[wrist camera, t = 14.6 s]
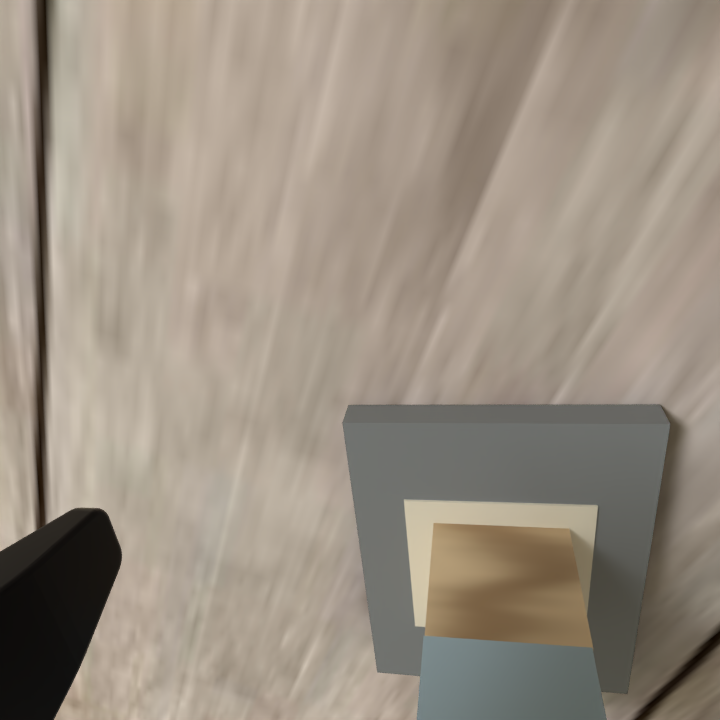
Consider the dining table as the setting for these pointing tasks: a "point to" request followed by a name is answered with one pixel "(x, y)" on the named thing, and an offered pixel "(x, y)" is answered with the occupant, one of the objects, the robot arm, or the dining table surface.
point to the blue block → (507, 681)
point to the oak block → (505, 585)
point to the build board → (506, 506)
